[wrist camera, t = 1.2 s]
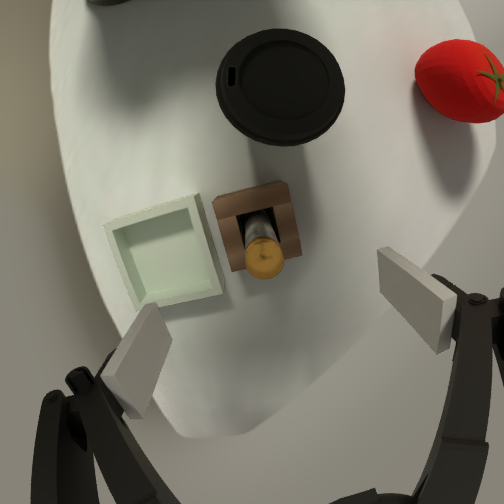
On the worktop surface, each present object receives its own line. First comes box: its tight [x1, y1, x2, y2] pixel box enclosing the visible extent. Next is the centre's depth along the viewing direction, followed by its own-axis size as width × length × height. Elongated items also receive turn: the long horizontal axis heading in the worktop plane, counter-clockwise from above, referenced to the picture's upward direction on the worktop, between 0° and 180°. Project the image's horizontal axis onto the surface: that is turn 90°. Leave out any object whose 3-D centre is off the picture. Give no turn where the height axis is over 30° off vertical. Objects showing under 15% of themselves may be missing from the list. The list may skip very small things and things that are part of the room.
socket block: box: [212, 181, 302, 272], centre depth 33 cm, size 8×8×5 cm
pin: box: [245, 209, 284, 279], centre depth 28 cm, size 3×3×15 cm
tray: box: [103, 193, 225, 312], centre depth 34 cm, size 12×12×4 cm
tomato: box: [415, 39, 504, 123], centre depth 22 cm, size 13×11×14 cm
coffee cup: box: [216, 29, 345, 147], centre depth 24 cm, size 10×10×15 cm
